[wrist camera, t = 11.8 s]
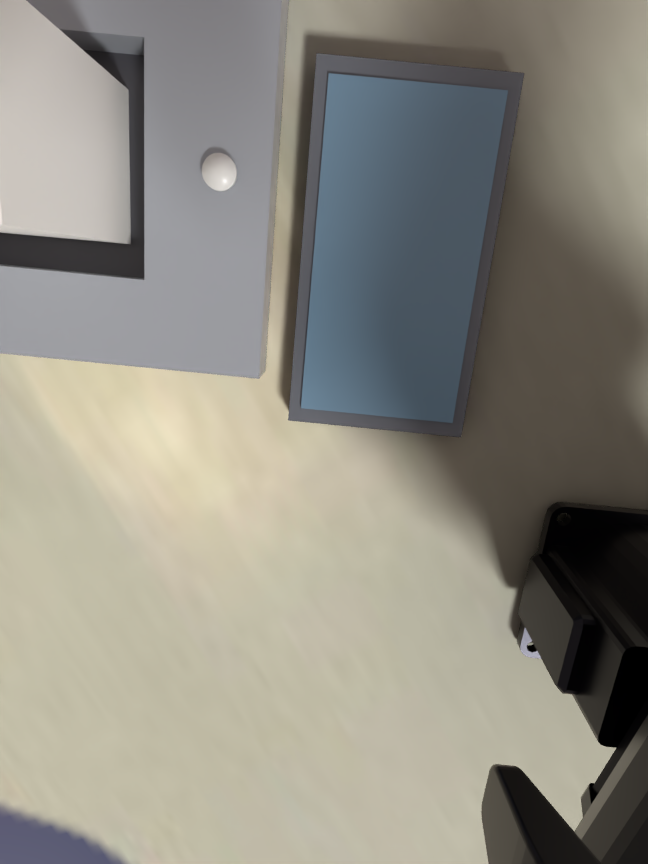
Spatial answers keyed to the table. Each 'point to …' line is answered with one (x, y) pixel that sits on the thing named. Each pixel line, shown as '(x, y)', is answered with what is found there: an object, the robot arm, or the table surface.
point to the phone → (398, 240)
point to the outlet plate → (168, 196)
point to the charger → (60, 135)
